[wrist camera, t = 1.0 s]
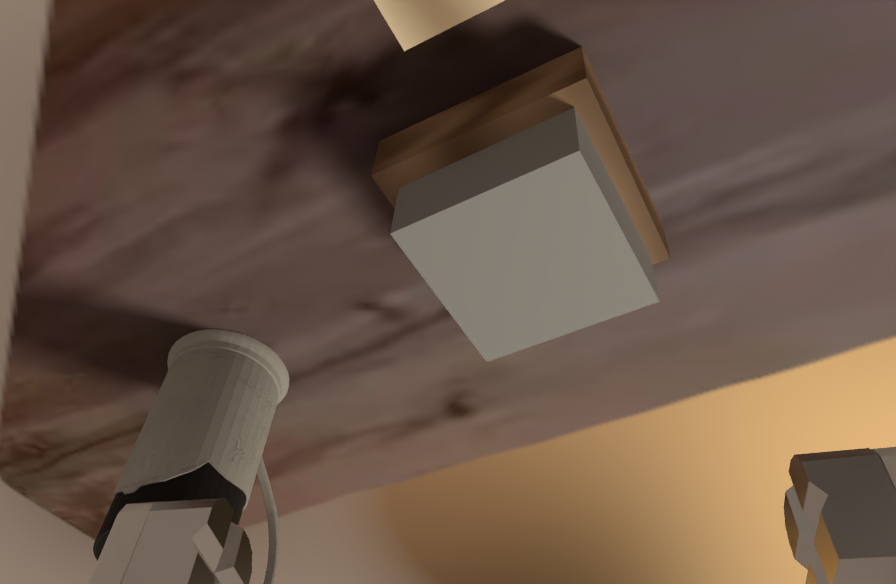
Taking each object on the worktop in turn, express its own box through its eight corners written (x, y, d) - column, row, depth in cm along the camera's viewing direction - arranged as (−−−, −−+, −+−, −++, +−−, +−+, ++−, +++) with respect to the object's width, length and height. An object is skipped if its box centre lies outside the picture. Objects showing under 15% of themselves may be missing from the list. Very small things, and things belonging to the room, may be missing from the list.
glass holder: (242, 314, 54) (170, 505, 42) (350, 439, 62) (313, 628, 50) (142, 349, 56) (49, 537, 45) (257, 465, 65) (202, 648, 53)
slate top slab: (574, 107, 38) (579, 150, 35) (649, 253, 44) (659, 301, 41) (398, 188, 42) (390, 233, 39) (488, 313, 47) (486, 362, 44)
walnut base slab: (581, 42, 40) (586, 78, 37) (660, 216, 47) (670, 258, 44) (380, 136, 45) (370, 175, 42) (479, 284, 51) (476, 326, 48)
